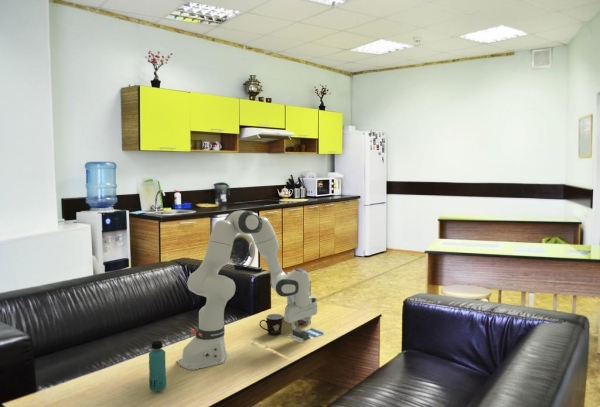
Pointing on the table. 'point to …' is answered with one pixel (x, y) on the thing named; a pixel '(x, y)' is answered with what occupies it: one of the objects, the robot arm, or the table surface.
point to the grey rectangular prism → (300, 334)
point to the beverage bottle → (157, 367)
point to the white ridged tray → (312, 334)
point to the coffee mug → (273, 324)
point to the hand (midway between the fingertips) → (300, 326)
